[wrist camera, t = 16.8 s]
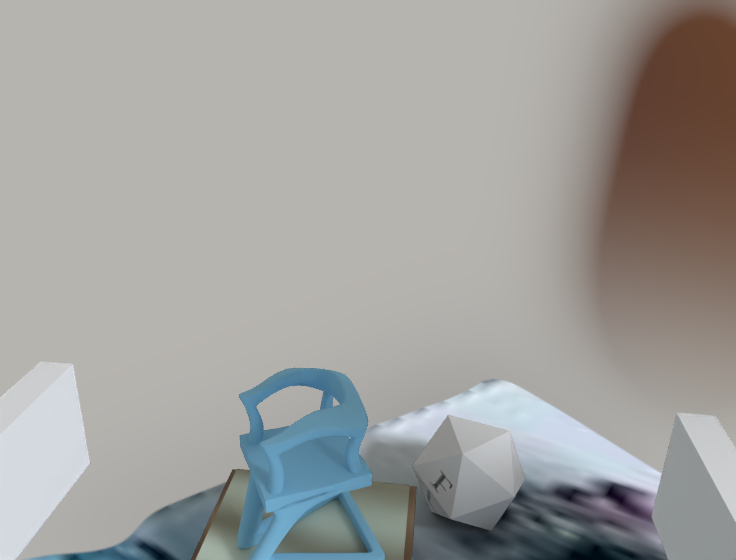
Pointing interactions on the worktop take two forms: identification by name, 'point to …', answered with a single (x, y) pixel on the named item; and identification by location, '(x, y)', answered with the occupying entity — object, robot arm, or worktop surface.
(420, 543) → the worktop surface
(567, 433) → the worktop surface
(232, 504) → the base block
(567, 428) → the worktop surface
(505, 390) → the worktop surface
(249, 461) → the chair
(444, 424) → the die
